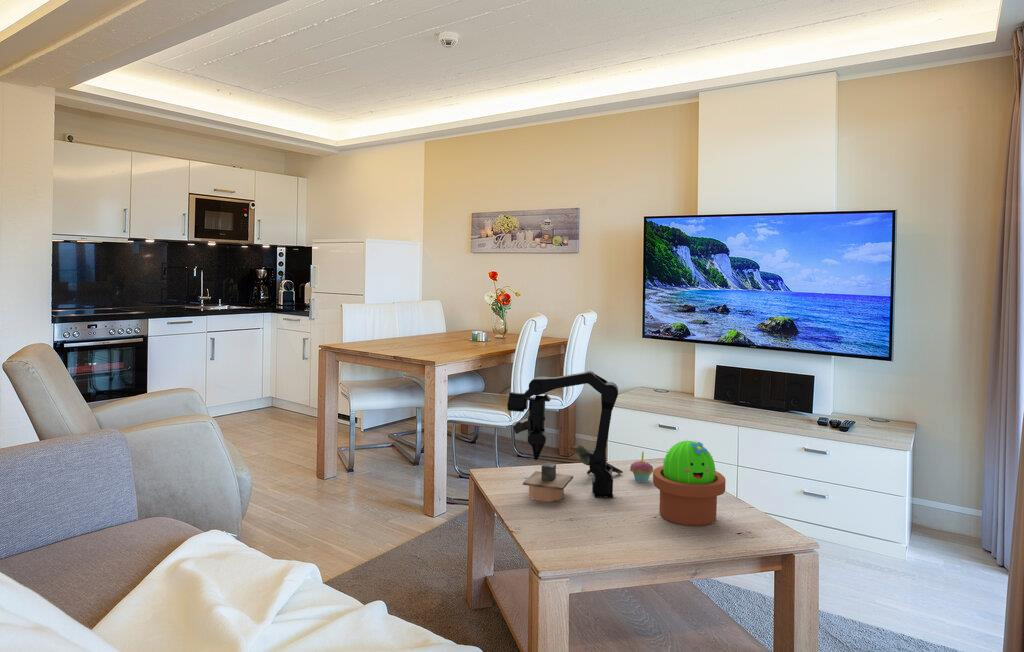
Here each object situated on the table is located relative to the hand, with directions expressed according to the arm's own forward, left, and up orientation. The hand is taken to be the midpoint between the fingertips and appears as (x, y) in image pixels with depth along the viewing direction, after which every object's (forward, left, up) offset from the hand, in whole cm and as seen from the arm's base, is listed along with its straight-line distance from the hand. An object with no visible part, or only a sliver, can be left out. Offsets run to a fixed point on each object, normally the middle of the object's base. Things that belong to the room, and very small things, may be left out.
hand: (535, 456), depth 223 cm
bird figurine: (-23, -18, -13) cm, 32 cm away
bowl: (-4, +5, -12) cm, 14 cm away
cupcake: (-40, -14, -13) cm, 44 cm away
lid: (-5, +5, -7) cm, 10 cm away
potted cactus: (-49, +21, -13) cm, 55 cm away
